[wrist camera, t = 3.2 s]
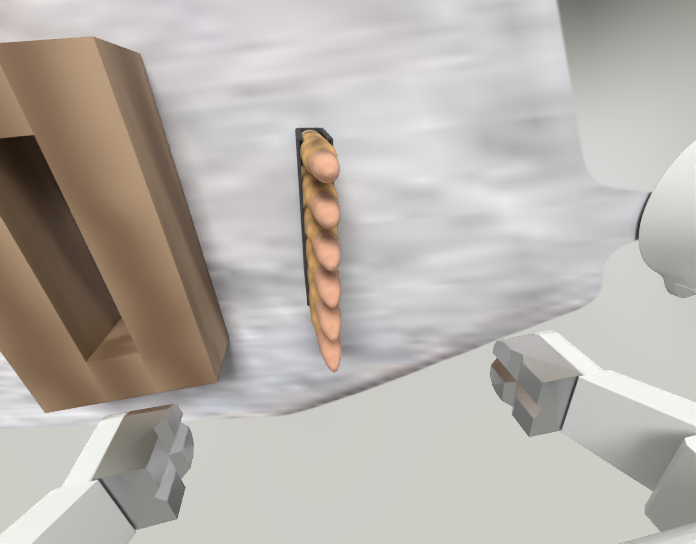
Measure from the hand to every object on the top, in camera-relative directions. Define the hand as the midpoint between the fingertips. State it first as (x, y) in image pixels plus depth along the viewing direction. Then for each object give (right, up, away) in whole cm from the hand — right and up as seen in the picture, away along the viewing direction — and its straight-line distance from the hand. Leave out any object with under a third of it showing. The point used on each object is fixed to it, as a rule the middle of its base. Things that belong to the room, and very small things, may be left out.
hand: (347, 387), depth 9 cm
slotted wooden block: (-16, +6, +14) cm, 22 cm away
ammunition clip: (-3, +8, +16) cm, 18 cm away
